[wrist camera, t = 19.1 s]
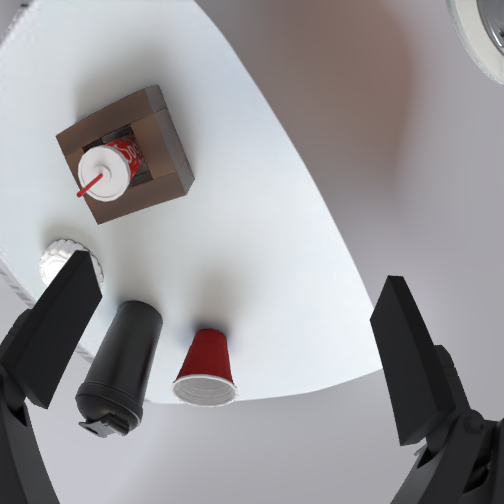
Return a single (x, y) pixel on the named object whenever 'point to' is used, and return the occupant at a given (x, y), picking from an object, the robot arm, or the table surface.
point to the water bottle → (120, 371)
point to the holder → (152, 147)
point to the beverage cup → (110, 168)
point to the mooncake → (62, 260)
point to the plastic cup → (206, 372)
